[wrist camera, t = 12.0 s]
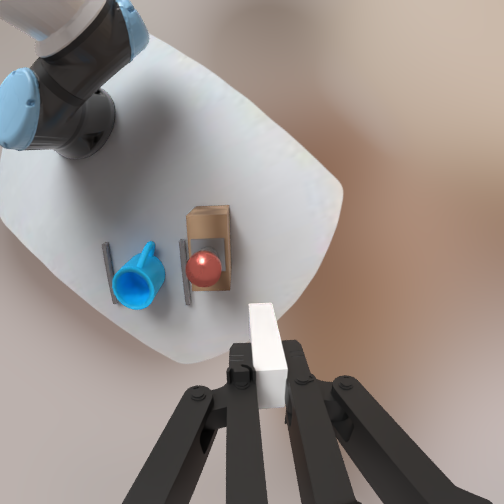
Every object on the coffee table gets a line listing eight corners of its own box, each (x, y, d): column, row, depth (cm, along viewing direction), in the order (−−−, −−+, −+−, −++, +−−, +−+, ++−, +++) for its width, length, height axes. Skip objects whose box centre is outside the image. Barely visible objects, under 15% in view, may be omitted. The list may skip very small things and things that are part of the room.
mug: (159, 296, 55) (148, 316, 47) (124, 281, 53) (108, 299, 46) (176, 244, 52) (166, 257, 44) (138, 228, 50) (122, 239, 43)
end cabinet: (200, 268, 53) (191, 292, 43) (196, 206, 50) (185, 216, 40) (231, 268, 53) (229, 291, 43) (229, 205, 50) (226, 215, 40)
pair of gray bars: (105, 242, 51) (101, 244, 49) (184, 239, 51) (183, 241, 50) (115, 300, 55) (113, 303, 53) (190, 301, 55) (189, 305, 54)
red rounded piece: (191, 242, 40) (183, 254, 35) (222, 241, 40) (220, 253, 35) (193, 271, 42) (187, 287, 36) (224, 271, 42) (222, 287, 36)
